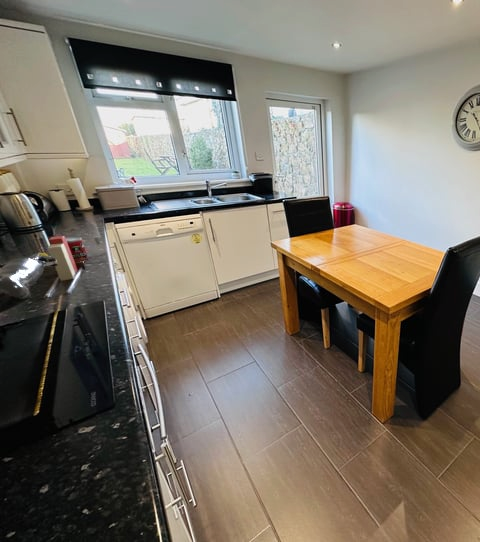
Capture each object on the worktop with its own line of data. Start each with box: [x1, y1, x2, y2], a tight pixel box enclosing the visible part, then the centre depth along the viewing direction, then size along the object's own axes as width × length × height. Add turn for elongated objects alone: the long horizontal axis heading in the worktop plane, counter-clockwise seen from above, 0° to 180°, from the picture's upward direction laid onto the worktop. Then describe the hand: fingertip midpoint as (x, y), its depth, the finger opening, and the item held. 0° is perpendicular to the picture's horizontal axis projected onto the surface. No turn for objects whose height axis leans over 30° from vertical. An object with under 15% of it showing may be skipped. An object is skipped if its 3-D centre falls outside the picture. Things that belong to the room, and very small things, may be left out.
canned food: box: [65, 236, 89, 262], centre depth 136 cm, size 8×8×11 cm
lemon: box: [36, 252, 51, 269], centre depth 125 cm, size 6×6×8 cm
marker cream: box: [46, 243, 76, 282], centre depth 114 cm, size 4×5×14 cm
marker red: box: [48, 235, 78, 274], centre depth 117 cm, size 4×5×16 cm
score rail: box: [42, 261, 87, 299], centre depth 113 cm, size 8×30×4 cm, turn 35°
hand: (37, 256), depth 94 cm, fingers closed
